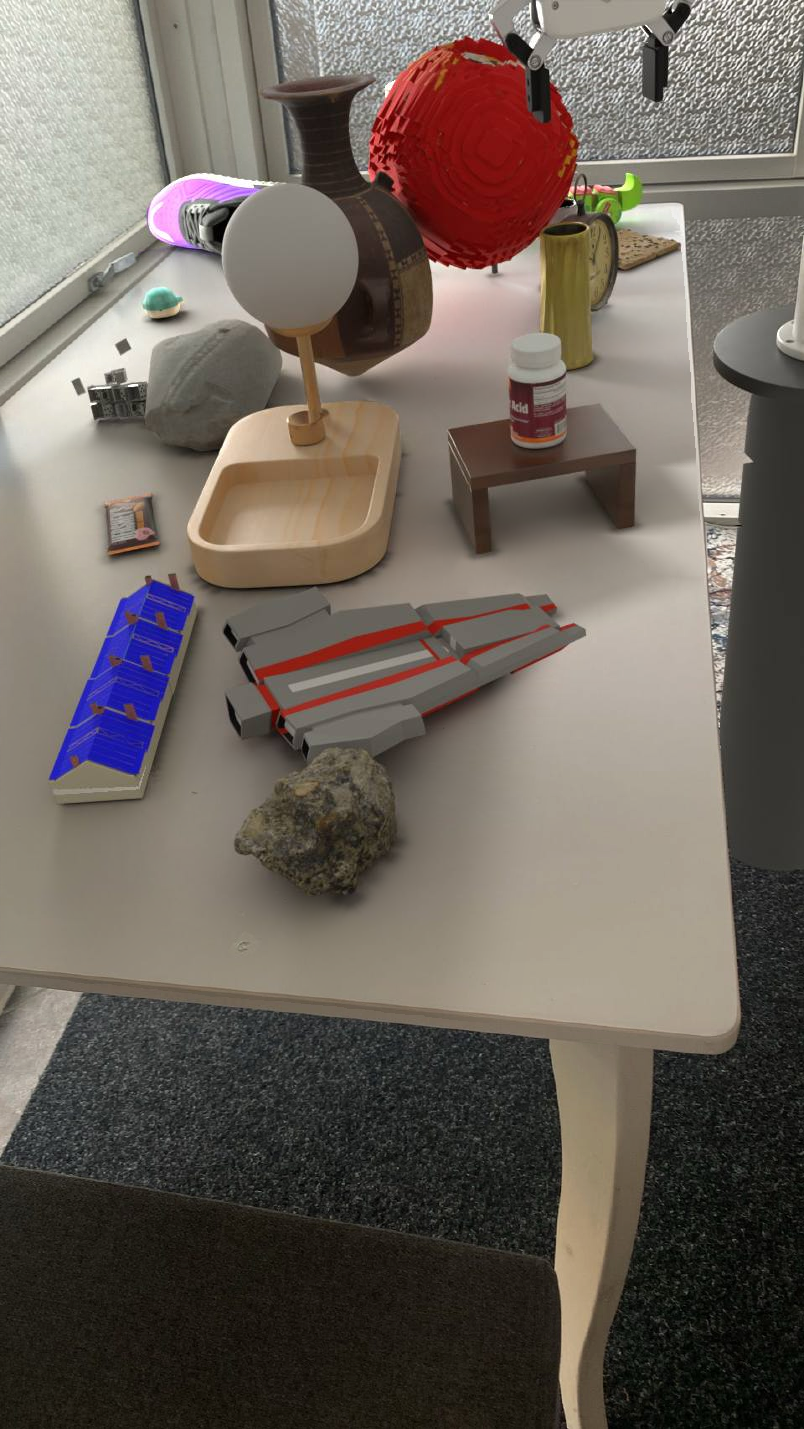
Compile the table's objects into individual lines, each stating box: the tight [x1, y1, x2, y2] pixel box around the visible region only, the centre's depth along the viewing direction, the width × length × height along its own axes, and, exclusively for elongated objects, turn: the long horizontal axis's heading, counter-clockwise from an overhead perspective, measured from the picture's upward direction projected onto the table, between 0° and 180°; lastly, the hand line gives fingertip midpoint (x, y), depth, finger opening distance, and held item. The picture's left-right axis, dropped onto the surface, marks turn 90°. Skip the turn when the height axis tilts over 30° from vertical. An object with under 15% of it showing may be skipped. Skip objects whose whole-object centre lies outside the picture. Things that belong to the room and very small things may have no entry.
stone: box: [144, 318, 284, 452], centre depth 125 cm, size 26×7×15 cm
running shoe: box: [145, 172, 286, 256], centre depth 172 cm, size 11×29×15 cm
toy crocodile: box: [565, 172, 643, 226], centre depth 164 cm, size 20×7×6 cm, turn 98°
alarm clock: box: [560, 173, 619, 313], centre depth 132 cm, size 11×5×16 cm, turn 146°
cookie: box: [616, 228, 682, 270], centre depth 155 cm, size 12×12×1 cm
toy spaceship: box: [221, 585, 587, 767], centre depth 81 cm, size 19×27×5 cm
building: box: [48, 572, 198, 805], centre depth 83 cm, size 23×6×4 cm, turn 179°
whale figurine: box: [141, 286, 185, 319], centre depth 154 cm, size 6×7×4 cm
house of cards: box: [70, 337, 148, 422], centre depth 127 cm, size 9×9×8 cm
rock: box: [233, 747, 398, 897], centre depth 67 cm, size 6×9×10 cm
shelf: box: [446, 403, 637, 555], centre depth 98 cm, size 14×10×7 cm
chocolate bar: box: [103, 492, 160, 556], centre depth 106 cm, size 11×5×1 cm, turn 14°
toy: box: [367, 35, 581, 271], centre depth 128 cm, size 23×24×30 cm
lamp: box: [186, 182, 403, 589], centre depth 99 cm, size 33×17×25 cm, turn 176°
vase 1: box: [257, 73, 434, 378], centre depth 121 cm, size 23×19×30 cm
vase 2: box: [538, 222, 595, 371], centre depth 122 cm, size 6×6×14 cm
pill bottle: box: [507, 332, 567, 449], centre depth 93 cm, size 5×5×8 cm
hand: (597, 110), depth 94 cm, fingers open, 9 cm apart
